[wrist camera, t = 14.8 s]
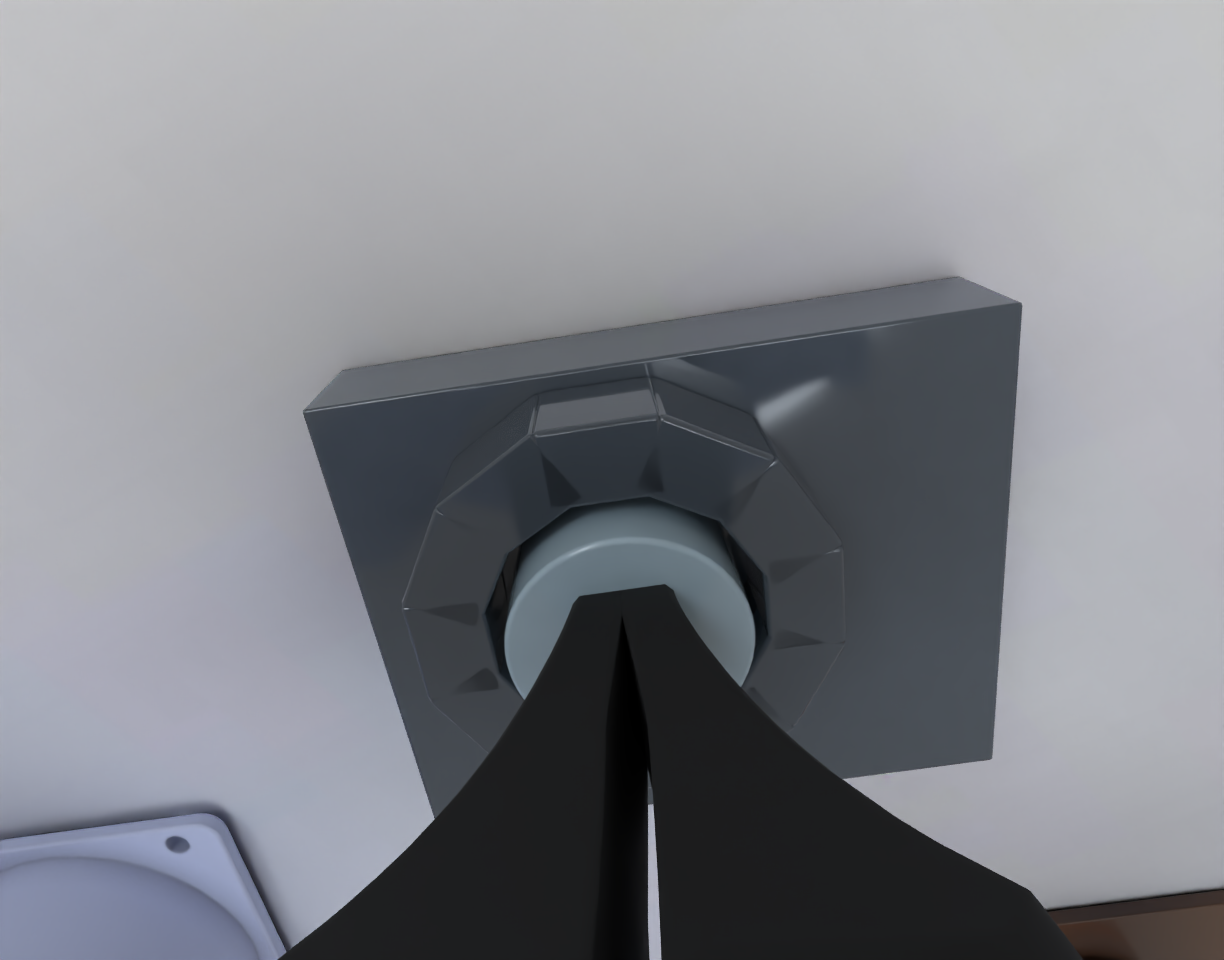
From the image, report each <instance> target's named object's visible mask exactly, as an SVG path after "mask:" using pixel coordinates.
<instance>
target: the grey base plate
mask: <svg viewBox="0 0 1224 960" xmlns="http://www.w3.org/2000/svg"><path fill="white" fill-rule="evenodd" d="M1021 316H1022V303H1021V302H1018V301H1016V300H1014V299H1011V298H1009V297H1007V296H1004V295H1002V294H999V293H997V292H995V291H992V290H990V289H988V288H985V287H983V286H981V285H978V284H976V283H974V282H971V281H969V280H966V279H964V278H962V277H954V278H947V279H941V280H934V281H928V282H921V283H914V284H908V285H901V286H895V287H888V288H882V289H875V290H868V291H862V292H855V293H849V294H842V295H835V296H829V297H822V298H816V299H809V300H802V301H796V302H789V303H783V304H776V305H770V306H763V307H756V308H750V309H743V310H737V311H730V312H723V313H717V314H710V315H704V316H697V317H690V318H684V319H677V320H671V321H664V322H658V323H651V324H644V325H638V326H631V327H625V328H618V329H611V330H605V331H598V332H592V333H585V334H578V335H572V336H565V337H559V338H552V339H546V340H539V341H532V342H526V343H519V344H513V345H506V346H499V347H493V348H486V349H480V350H473V351H466V352H460V353H453V354H447V355H440V356H434V357H427V358H420V359H414V360H407V361H401V362H394V363H387V364H381V365H374V366H368V367H361V368H354V369H348V370H343V371H341V372H340V373H339V374H338V375H337V376H336V377H335V378H334V379H333V380H332V381H331V382H330V384H329V385H328V386H327V387H326V388H325V389H324V390H323V391H322V392H321V393H320V394H319V395H318V396H317V397H316V398H315V399H314V400H313V401H312V402H311V403H310V404H309V405H308V406H307V407H306V408H305V409H304V410H303V415H304V418H305V421H306V424H307V427H308V430H309V433H310V436H311V439H312V442H313V445H314V448H315V452H316V455H317V458H318V461H319V464H320V467H321V470H322V473H323V476H324V479H325V482H326V485H327V488H328V492H329V495H330V498H331V501H332V504H333V507H334V510H335V513H336V516H337V519H338V522H339V525H340V529H341V532H342V535H343V538H344V541H345V544H346V547H347V550H348V553H349V556H350V559H351V562H352V565H353V569H354V572H355V575H356V578H357V581H358V584H359V587H360V590H361V593H362V596H363V599H364V602H365V606H366V609H367V612H368V615H369V618H370V621H371V624H372V627H373V630H374V633H375V636H376V639H377V642H378V646H379V649H380V652H381V655H382V658H383V661H384V664H385V667H386V670H387V673H388V676H389V679H390V682H391V686H392V689H393V692H394V695H395V698H396V701H397V704H398V707H399V710H400V713H401V716H402V719H403V723H404V726H405V729H406V732H407V735H408V738H409V741H410V744H411V747H412V750H413V753H414V756H415V759H416V763H417V766H418V769H419V772H420V775H421V778H422V781H423V784H424V787H425V790H426V793H427V796H428V800H429V803H430V806H431V809H432V812H433V815H434V818H436V817H437V816H438V815H439V814H440V813H441V812H442V811H443V809H444V808H445V807H446V806H447V805H448V804H449V803H450V801H451V800H452V799H453V798H454V797H455V796H456V795H457V794H458V792H459V791H460V790H461V789H462V788H463V786H464V785H465V784H466V782H467V781H468V780H469V779H470V777H471V776H472V775H473V774H474V772H475V771H476V770H477V769H478V767H479V766H480V765H481V763H482V762H483V761H484V759H485V758H486V757H487V755H488V754H489V753H490V751H491V750H492V748H493V747H494V746H495V744H496V743H497V741H498V740H499V739H500V737H501V736H502V734H503V733H504V731H505V730H506V728H507V727H508V725H509V723H510V722H511V720H512V719H513V717H514V716H515V714H516V712H517V711H518V709H519V708H520V706H521V705H522V703H523V702H524V699H523V697H522V696H521V695H520V693H519V692H518V690H517V688H516V686H515V684H514V682H513V680H512V679H511V676H510V673H509V670H508V667H507V664H506V659H505V653H504V634H505V628H506V621H507V615H508V609H509V602H510V596H511V590H512V584H513V577H514V571H515V565H516V558H517V554H518V551H519V548H520V545H521V544H522V543H523V542H525V541H526V540H527V539H529V538H530V537H531V536H533V535H534V534H535V533H537V532H538V531H540V530H541V529H542V528H544V527H545V526H546V525H548V524H549V523H550V522H552V521H553V520H555V519H556V518H557V517H559V516H560V515H561V514H563V513H564V512H565V511H567V510H568V509H570V508H572V507H579V506H586V505H593V504H600V503H607V502H614V501H621V500H628V499H635V498H642V497H651V498H654V499H657V500H660V501H663V502H666V503H668V504H671V505H674V506H677V507H680V508H683V509H686V510H688V511H691V512H694V513H697V514H700V515H703V516H706V517H708V518H711V519H714V520H716V521H717V522H718V523H719V525H720V526H721V528H722V530H723V531H724V533H725V535H726V537H727V539H728V542H729V545H730V548H731V551H732V554H733V557H734V560H735V563H736V566H737V569H738V572H739V575H740V578H741V581H742V584H743V587H744V590H745V593H746V596H747V599H748V602H749V605H750V608H751V611H752V614H753V618H754V624H755V642H756V643H755V650H754V657H753V660H752V663H751V666H750V669H749V672H748V674H747V676H746V678H745V680H744V683H743V685H742V686H741V688H742V689H743V690H744V691H745V692H746V693H747V695H748V696H749V697H750V698H751V699H752V700H753V701H754V702H755V703H756V704H757V705H758V706H759V707H760V708H761V709H762V710H763V711H764V712H765V713H766V714H767V715H768V716H769V717H770V718H771V719H772V720H773V721H774V722H775V723H776V724H777V725H778V726H779V727H780V728H781V729H782V730H783V731H784V732H786V733H787V734H788V735H789V736H790V737H791V738H792V739H793V740H795V741H796V742H797V743H798V744H799V745H800V746H801V747H802V748H804V749H805V750H806V751H807V752H808V753H810V754H811V755H812V756H813V757H815V758H816V759H817V760H818V761H819V762H821V763H822V764H823V765H824V766H826V767H827V768H828V769H829V770H830V771H832V772H833V773H834V774H836V775H837V776H838V777H840V778H841V779H847V778H855V777H862V776H870V775H877V774H885V773H893V772H900V771H908V770H915V769H923V768H931V767H938V766H946V765H953V764H961V763H969V762H976V761H984V760H990V759H992V752H993V737H994V722H995V707H996V692H997V677H998V662H999V647H1000V632H1001V617H1002V602H1003V587H1004V572H1005V557H1006V542H1007V527H1008V512H1009V497H1010V481H1011V466H1012V451H1013V436H1014V421H1015V406H1016V391H1017V376H1018V361H1019V346H1020V331H1021ZM649 804H653V791H652V786H651V781H650V776H649V772H648V805H649Z"/></svg>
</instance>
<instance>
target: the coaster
mask: <svg viewBox="0 0 1224 960" xmlns="http://www.w3.org/2000/svg"><path fill="white" fill-rule="evenodd" d="M1048 914H1049V915H1050V916H1051V918H1052V919H1053V920H1054V921H1055V923H1056V924H1057V925H1058V927H1059V928H1060V929H1061V930H1062V932H1063V933H1064V934H1065V936H1066V937H1067V938H1068V940H1069V941H1070V942H1071V944H1072V945H1073V946H1074V948H1075V949H1076V950H1077V952H1078V953H1079V954H1080V956H1081V957H1082V958H1083V960H1224V890H1218V891H1210V892H1202V893H1194V894H1186V895H1178V896H1170V897H1162V898H1154V899H1146V900H1138V901H1130V902H1122V903H1114V904H1106V905H1098V906H1090V907H1082V908H1074V909H1066V910H1058V911H1050V912H1048Z"/></svg>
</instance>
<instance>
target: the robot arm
mask: <svg viewBox="0 0 1224 960" xmlns="http://www.w3.org/2000/svg"><path fill="white" fill-rule="evenodd" d="M648 772H649V776H650V781H651V786H652V791H653V804H654V818H655V835H656V852H657V869H658V887H659V910H660V932H661V957H662V960H1083V958H1082V957H1081V956H1080V954H1079V953H1078V952H1077V950H1076V949H1075V948H1074V946H1073V945H1072V944H1071V942H1070V941H1069V940H1068V938H1067V937H1066V936H1065V934H1064V933H1063V932H1062V930H1061V929H1060V928H1059V927H1058V925H1057V924H1056V923H1055V921H1054V920H1053V919H1052V918H1051V916H1050V915H1049V914H1048V912H1047V911H1046V910H1045V909H1044V907H1043V906H1042V905H1041V904H1040V902H1039V901H1038V900H1037V899H1036V897H1035V896H1034V895H1033V894H1032V893H1031V892H1030V891H1029V890H1028V889H1026V888H1024V887H1022V886H1020V885H1018V884H1017V883H1015V882H1013V881H1011V880H1009V879H1007V878H1005V877H1003V876H1001V875H999V874H997V873H995V872H993V871H991V870H990V869H988V868H986V867H984V866H982V865H980V864H978V863H976V862H974V861H972V860H970V859H968V858H966V857H965V856H963V855H961V854H959V853H957V852H955V851H953V850H951V849H949V848H947V847H945V846H943V845H941V844H940V843H938V842H936V841H934V840H933V839H931V838H929V837H928V836H926V835H924V834H923V833H921V832H919V831H918V830H916V829H914V828H913V827H911V826H910V825H908V824H906V823H905V822H903V821H901V820H900V819H898V818H896V817H895V816H893V815H892V814H891V813H889V812H888V811H886V810H885V809H883V808H882V807H881V806H879V805H878V804H876V803H875V802H874V801H872V800H871V799H869V798H868V797H866V796H865V795H864V794H862V793H861V792H859V791H858V790H857V789H855V788H854V787H852V786H851V785H850V784H848V783H847V782H845V781H844V780H842V779H841V778H840V777H838V776H837V775H836V774H834V773H833V772H832V771H830V770H829V769H828V768H827V767H826V766H824V765H823V764H822V763H821V762H819V761H818V760H817V759H816V758H815V757H813V756H812V755H811V754H810V753H808V752H807V751H806V750H805V749H804V748H802V747H801V746H800V745H799V744H798V743H797V742H796V741H795V740H793V739H792V738H791V737H790V736H789V735H788V734H787V733H786V732H784V731H783V730H782V729H781V728H780V727H779V726H778V725H777V724H776V723H775V722H774V721H773V720H772V719H771V718H770V717H769V716H768V715H767V714H766V713H765V712H764V711H763V710H762V709H761V708H760V707H759V706H758V705H757V704H756V703H755V702H754V701H753V700H752V699H751V698H750V697H749V696H748V695H747V693H746V692H745V691H744V690H743V689H742V688H741V687H740V686H739V685H738V684H737V683H736V681H735V680H734V679H733V678H732V677H731V676H730V674H729V673H728V672H727V671H726V670H725V668H724V667H723V666H722V665H721V663H720V662H719V661H718V660H717V658H716V657H715V656H714V655H713V653H712V652H711V651H710V649H709V648H708V647H707V646H706V644H705V643H704V642H703V640H702V639H701V637H700V636H699V635H698V633H697V632H696V630H695V629H694V627H693V626H692V624H691V623H690V621H689V620H688V618H687V616H686V615H685V613H684V611H683V610H682V608H681V606H680V604H679V602H678V600H677V598H676V596H675V593H674V590H673V589H671V588H670V587H668V586H667V585H666V584H661V585H654V586H647V587H640V588H633V589H626V590H619V591H612V592H604V593H597V594H590V595H583V596H579V597H578V598H577V599H576V601H575V602H574V603H573V604H572V607H571V610H570V613H569V615H568V617H567V620H566V622H565V624H564V627H563V629H562V631H561V633H560V635H559V638H558V640H557V642H556V644H555V646H554V648H553V650H552V652H551V654H550V656H549V658H548V659H547V661H546V663H545V665H544V667H543V668H542V670H541V672H540V674H539V676H538V678H537V679H536V681H535V683H534V685H533V687H532V688H531V690H530V692H529V694H528V695H527V697H526V698H525V700H524V702H523V703H522V705H521V706H520V708H519V709H518V711H517V712H516V714H515V716H514V717H513V719H512V720H511V722H510V723H509V725H508V727H507V728H506V730H505V731H504V733H503V734H502V736H501V737H500V739H499V740H498V741H497V743H496V744H495V746H494V747H493V748H492V750H491V751H490V753H489V754H488V755H487V757H486V758H485V759H484V761H483V762H482V763H481V765H480V766H479V767H478V769H477V770H476V771H475V772H474V774H473V775H472V776H471V777H470V779H469V780H468V781H467V782H466V784H465V785H464V786H463V788H462V789H461V790H460V791H459V792H458V794H457V795H456V796H455V797H454V798H453V799H452V800H451V801H450V803H449V804H448V805H447V806H446V807H445V808H444V809H443V811H442V812H441V813H440V814H439V815H438V816H437V817H436V818H435V820H434V821H433V822H432V823H431V824H430V825H429V826H428V827H427V828H426V829H425V830H424V831H423V832H422V834H421V835H420V836H419V837H418V838H417V839H416V840H415V841H414V842H413V843H412V844H411V845H410V846H409V847H408V848H407V849H406V850H405V851H404V852H403V853H402V854H401V855H400V856H399V857H398V858H397V859H396V860H395V861H394V862H393V863H392V864H391V865H389V866H388V867H387V868H386V869H385V870H384V871H383V872H382V873H381V874H380V875H379V876H378V877H377V878H376V879H375V880H373V881H372V882H371V883H370V884H369V885H368V886H367V887H365V888H364V889H363V890H362V891H361V892H360V893H359V894H358V895H356V896H355V897H354V898H353V899H352V900H351V901H350V902H349V903H347V904H346V905H345V906H344V907H343V908H342V909H340V910H339V911H338V912H337V913H336V914H334V915H333V916H332V917H331V918H330V919H328V920H327V921H326V922H325V923H324V924H322V925H321V926H320V927H319V928H317V929H316V930H315V931H313V932H312V933H311V934H310V935H308V936H307V937H306V938H304V939H303V940H302V941H301V942H299V943H298V944H297V945H295V946H294V947H293V948H292V949H290V950H289V951H288V952H286V950H285V948H284V946H283V944H282V942H281V939H280V937H279V935H278V933H277V931H276V929H275V927H274V925H273V923H272V920H271V918H270V916H269V914H268V912H267V910H266V908H265V906H264V904H263V901H262V899H261V897H260V895H259V893H258V891H257V889H256V887H255V885H254V882H253V880H252V878H251V876H250V874H249V872H248V870H247V868H246V866H245V863H244V861H243V859H242V857H241V855H240V853H239V851H238V849H237V847H236V845H235V842H234V840H233V838H232V836H231V834H230V832H229V830H228V828H227V826H226V825H225V823H224V822H223V821H222V820H221V819H220V818H218V817H216V816H214V815H211V814H208V813H198V814H190V815H183V816H176V817H168V818H161V819H153V820H146V821H138V822H131V823H123V824H116V825H108V826H101V827H93V828H86V829H78V830H71V831H63V832H56V833H48V834H41V835H33V836H26V837H18V838H11V839H3V840H0V960H649V939H648Z"/></svg>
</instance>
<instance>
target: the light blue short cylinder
mask: <svg viewBox="0 0 1224 960" xmlns="http://www.w3.org/2000/svg"><path fill="white" fill-rule="evenodd" d="M661 584H666V585H667V586H668V587H670V588H671V589H673V590H674V593H675V596H676V598H677V600H678V602H679V604H680V606H681V608H682V610H683V611H684V613H685V615H686V616H687V618H688V620H689V621H690V623H691V624H692V626H693V627H694V629H695V630H696V632H697V633H698V635H699V636H700V637H701V639H702V640H703V642H704V643H705V644H706V646H707V647H708V648H709V649H710V651H711V652H712V653H713V655H714V656H715V657H716V658H717V660H718V661H719V662H720V663H721V665H722V666H723V667H724V668H725V670H726V671H727V672H728V673H729V674H730V676H731V677H732V678H733V679H734V680H735V681H736V683H737V684H738V685H739V686H740V687H741V686H742V685H743V683H744V680H745V678H746V676H747V674H748V672H749V669H750V666H751V663H752V660H753V657H754V650H755V643H756V642H755V624H754V618H753V614H752V611H751V608H750V605H749V602H748V599H747V596H746V593H745V590H744V587H743V584H742V581H741V578H740V575H739V572H738V569H737V566H736V563H735V560H734V557H733V554H732V551H731V548H730V545H729V542H728V539H727V537H726V535H725V533H724V531H723V530H722V528H721V526H720V525H719V523H718V522H717V521H716V520H714V519H711V518H708V517H706V516H703V515H700V514H697V513H694V512H691V511H688V510H686V509H683V508H680V507H677V506H674V505H671V504H668V503H666V502H663V501H660V500H657V499H654V498H651V497H642V498H635V499H628V500H621V501H614V502H607V503H600V504H593V505H586V506H579V507H572V508H570V509H568V510H567V511H565V512H564V513H563V514H561V515H560V516H559V517H557V518H556V519H555V520H553V521H552V522H550V523H549V524H548V525H546V526H545V527H544V528H542V529H541V530H540V531H538V532H537V533H535V534H534V535H533V536H531V537H530V538H529V539H527V540H526V541H525V542H523V543H522V544H521V545H520V548H519V551H518V554H517V558H516V565H515V571H514V577H513V584H512V590H511V596H510V602H509V609H508V615H507V621H506V628H505V634H504V653H505V659H506V664H507V667H508V670H509V673H510V676H511V679H512V680H513V682H514V684H515V686H516V688H517V690H518V692H519V693H520V695H521V696H522V697H523V699H524V700H525V698H526V697H527V695H528V694H529V692H530V690H531V688H532V687H533V685H534V683H535V681H536V679H537V678H538V676H539V674H540V672H541V670H542V668H543V667H544V665H545V663H546V661H547V659H548V658H549V656H550V654H551V652H552V650H553V648H554V646H555V644H556V642H557V640H558V638H559V635H560V633H561V631H562V629H563V627H564V624H565V622H566V620H567V617H568V615H569V613H570V610H571V607H572V604H573V603H574V602H575V601H576V599H577V598H578V597H579V596H583V595H590V594H597V593H604V592H612V591H619V590H626V589H633V588H640V587H647V586H654V585H661Z"/></svg>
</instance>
